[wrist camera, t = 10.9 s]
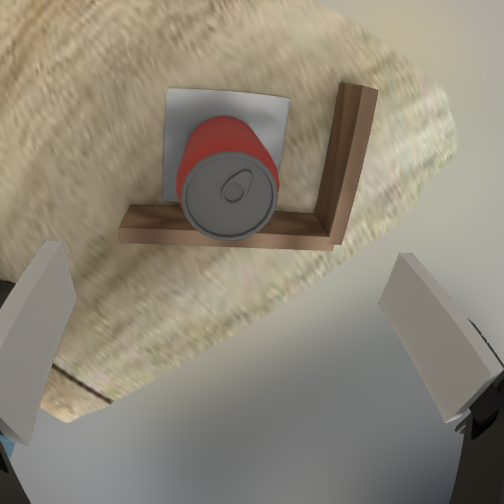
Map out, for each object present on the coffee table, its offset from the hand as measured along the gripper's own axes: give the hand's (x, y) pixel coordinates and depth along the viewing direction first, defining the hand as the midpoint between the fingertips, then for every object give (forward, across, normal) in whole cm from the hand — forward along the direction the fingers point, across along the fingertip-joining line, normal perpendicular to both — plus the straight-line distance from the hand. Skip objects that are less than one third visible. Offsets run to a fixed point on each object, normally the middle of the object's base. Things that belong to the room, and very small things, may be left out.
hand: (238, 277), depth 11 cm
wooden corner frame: (+20, +2, 0) cm, 20 cm away
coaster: (+20, 0, 0) cm, 20 cm away
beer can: (+19, 0, 0) cm, 19 cm away
